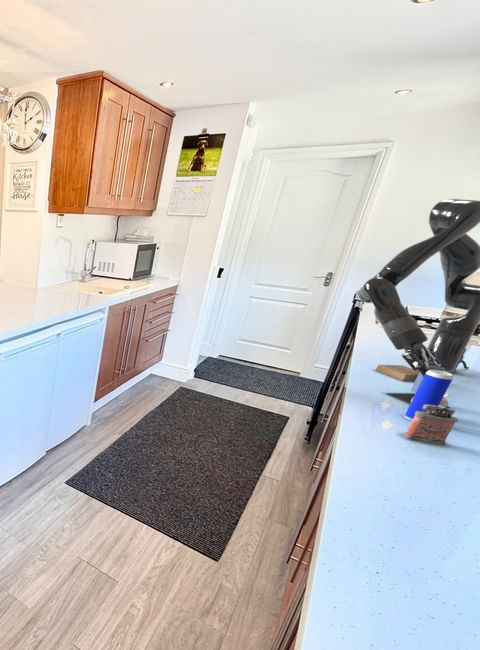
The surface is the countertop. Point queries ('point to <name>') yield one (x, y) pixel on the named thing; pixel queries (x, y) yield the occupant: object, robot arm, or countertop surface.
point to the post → (420, 377)
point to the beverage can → (429, 391)
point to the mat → (404, 397)
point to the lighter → (431, 424)
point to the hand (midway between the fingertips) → (436, 380)
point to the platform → (398, 372)
